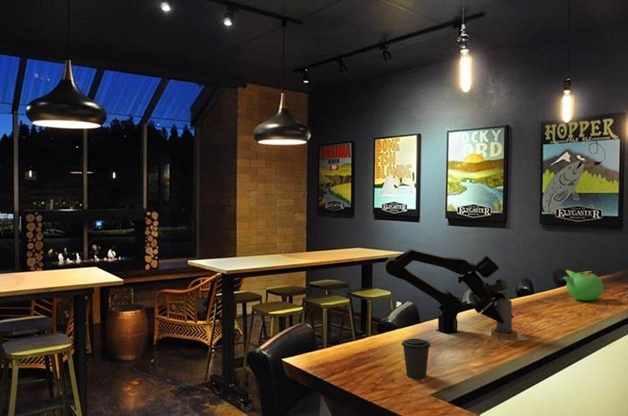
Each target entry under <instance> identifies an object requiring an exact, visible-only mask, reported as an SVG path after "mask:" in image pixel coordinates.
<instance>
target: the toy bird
mask: <svg viewBox="0 0 628 416" xmlns="http://www.w3.org/2000/svg"><path fill="white" fill-rule="evenodd" d="M592 271H593V270H589V271H580V272H574V271H571V270H570V269H566V270H565V272H566V273H567V275H568V276H564V277H563V280H564V281H566V288H567V289H566V290H567V292H568V293H569V295H570V296H571V297H572V298H574V299H576V300H580V301H584V302H587V301H588V302H589V301H594V300H596V299H598V298H600V297H601V296H602V295H603V291H604V285H603V282H602V280H601V279H600V277H599V276H597V275H596V274H595V273H592Z"/></svg>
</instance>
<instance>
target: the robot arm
mask: <svg viewBox="0 0 628 416" xmlns="http://www.w3.org/2000/svg"><path fill="white" fill-rule="evenodd" d="M412 262H417V263H423V264H427V265H432V266H436V267H440V268H442V269H443V268H444V269H445V270H448V271H450V272H453V273H454V274H455V273H456V274H458V275H460V276H457V279H458V281H457V284H458V285H462V284H463V283H464V284H465V286H466V287H467V288H468V289H469V291H470V292H472V293H471V295H472V296H473V297H476V298H477V299H478V302H477V303H476V304H474V310H475V312H476V313H477V314H480V315H483V316H484V317H487V318H489V319H492V320H493V321H496V323H497V322H499V323H501V324H503V323H504V320H503V318H502V317H501V316H500V314H499V313H498V311H497V300H498V299H505V300H508V296H509V295H508V294H507V292H505V290H508V289H509V288H508V286H507V284H508V283H507V282H506V280H503V279H502V278H499V279H496V281H495V283H493V284H490V282H485V281H484V280H483V279H484V278H485V279H489V278H490V277H491V276H493V275H494V274H495V273H497V271H499V270H500V267H499V266H498V264H496V263H495V262H494V261H493V260H492V259H491V258H490V257H489V256H488V255H484V256H483V257H482V258H481V259H480V260H479V261H478V262H476V263H475V264H474V263H472V262H471V263H470V262H469V261H468V260H466V259H464V258H462V257H450V256H449V257H448V256H447V257H446V256H445V257H444V256H440V255H436V254H431V253H426V252H423V251H418V250H415V249H413V248H411V249H408V250H406V251H404V252H403V253H401V254H399V255H397V256H396V257H395V258H388V259H386V261H385V262H384V269H385V271H386V273H387V274H388V275H390V276H391V277H394V278H397V279H400V280H403V281H405V282H407V283H409V284H410V285H411V286H413V287H415V288H416V289H418V290H420V291H421V292H423V293H424V294H426V295H428V296H430V297H431V298H432V299H434V300H435V301H437V302H438V303H439V304H440V305H439V306H438V307H437V311H438V313H439V315H438V316H437V319H438V320H437V329H435V331H436V332H439V333H442V334H443V335H451V334H452V335H453V334H457V333H458V334H460V331H459V330H458V317H457V316H458V315H459V313H460V312H461V311H462V310H463V304H462V301H461V300H460V297H459V296H458V295H457V294H455V293H451V292H450V291H449V290H448V289H447V288H446V289H445V291H442V290H440V289H438V288H437V287H435V286H433V285H431V284H430V283H428V282H427V281H425V280H423V279H422V278H421V277H419V276H417V275H416V274H414V273H413V272H411V271H409V270H408V269H407V268H406V266H408V265H410V264H411V263H412ZM513 318H514V315H513V314H512V319H513Z"/></svg>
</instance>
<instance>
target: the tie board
mask: <svg viewBox="0 0 628 416" xmlns="http://www.w3.org/2000/svg"><path fill="white" fill-rule="evenodd" d="M490 330H491V331H486V332H480V333H478V334H479V335H482V336H485V337H487V338H490V339H493V340H495V341H496V340H497V341H499V342H503V343H505V344H506V343H512V342H519V341H524V340H529V339H532V336H528V335H524V334H521V333H518V331H517V330H515V329H512V334H503V333H498V332H497V327H496V328H491V329H490Z"/></svg>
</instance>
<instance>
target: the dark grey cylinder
mask: <svg viewBox="0 0 628 416" xmlns="http://www.w3.org/2000/svg"><path fill="white" fill-rule="evenodd" d="M512 305H513V303H512V300H510V299H507V300H505V299H498V300H497V311H498V313H499V314H500V316H501V317H502V318H503V320H504V323H503V324H501V323H499V322H497V321H496V328H497V332H498V333H503V334H512V330H513V326H512V325H513V323H512V322H513V321H512V319H513V318H512V315H513V313H512V311H513V310H512V307H513V306H512Z"/></svg>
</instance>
